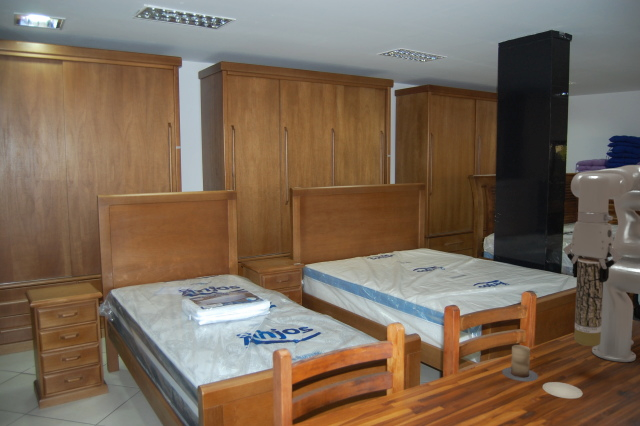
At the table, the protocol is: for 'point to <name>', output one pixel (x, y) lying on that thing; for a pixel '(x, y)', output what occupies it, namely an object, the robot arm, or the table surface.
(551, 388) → the cream pad
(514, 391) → the table surface
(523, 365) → the beige rounded cylinder
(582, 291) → the brown bark cylinder
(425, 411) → the table surface
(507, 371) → the board
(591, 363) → the table surface
